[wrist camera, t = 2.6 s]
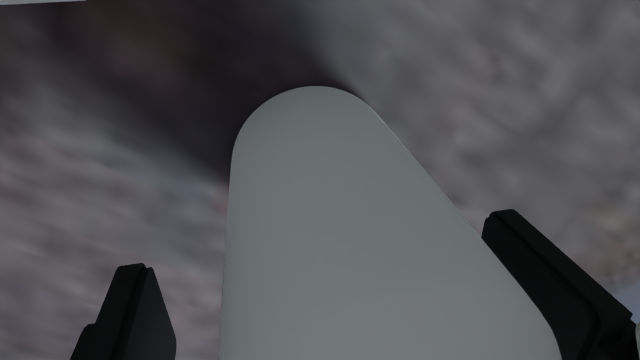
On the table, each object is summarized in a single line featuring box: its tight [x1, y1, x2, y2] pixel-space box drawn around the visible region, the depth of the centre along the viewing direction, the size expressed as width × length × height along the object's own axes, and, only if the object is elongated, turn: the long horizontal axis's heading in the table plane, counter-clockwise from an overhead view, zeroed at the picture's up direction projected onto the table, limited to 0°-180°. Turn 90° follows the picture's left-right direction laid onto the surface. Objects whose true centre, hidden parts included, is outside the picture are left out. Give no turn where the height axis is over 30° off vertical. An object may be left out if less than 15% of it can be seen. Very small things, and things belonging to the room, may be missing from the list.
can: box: [218, 86, 562, 360], centre depth 11 cm, size 6×6×12 cm
